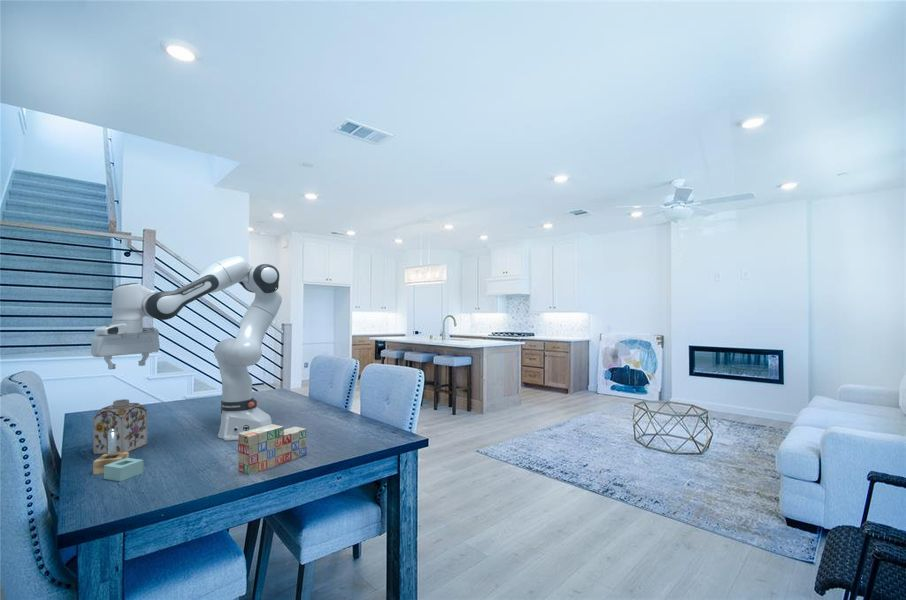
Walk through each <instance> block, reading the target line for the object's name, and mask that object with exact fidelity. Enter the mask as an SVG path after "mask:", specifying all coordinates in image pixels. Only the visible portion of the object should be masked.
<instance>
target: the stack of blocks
mask: <svg viewBox="0 0 906 600" xmlns="http://www.w3.org/2000/svg"><path fill="white" fill-rule="evenodd" d="M237 441H238V443H237V453H238V472H241V473H243V474H245V475H249V476H250V475H253V474H256V473H259V472H262V471H265V470H268V469H270V468H274V467H276V466H279V465H282V464H284V463H287V461H288V462H290V461H293V460H296V459H298V458H301V457H305V456H307V454H308V453H307V451H308V450H307V445H308V441H307V428H303V427H299V426H292V427H289V428H284V426H283V425H277V424H275V423H274V424H273V423H272V424H271V425H268V426H264V427H260V428H257V429H253V430H249V431H245V432H241V433H239V434H238V440H237Z"/></svg>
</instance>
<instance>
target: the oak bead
mask: <svg viewBox="0 0 906 600" xmlns="http://www.w3.org/2000/svg"><path fill="white" fill-rule="evenodd" d="M125 458H130V452H123V453H116V458H108V454H101V455H100V456H99V457H98V458H97V459H95V460H93V461H92V462H93V463H92V464H93V465H92V467H93V469H92V470H93V472H92V474H93V475H99V474H101V475H102V474H104V465H107V464H110V463H113V462H116V461H119V460H122V459H125Z"/></svg>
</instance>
